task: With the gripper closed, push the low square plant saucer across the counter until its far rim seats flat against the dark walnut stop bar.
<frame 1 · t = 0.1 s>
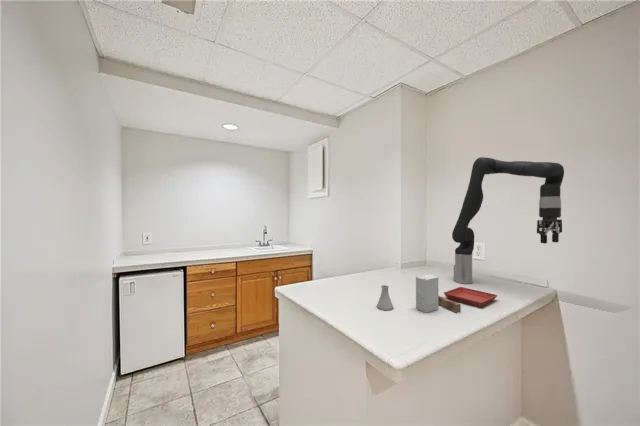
hand: (549, 242, 122), 29 cm above the countertop, fingers open, 8 cm apart
flask: (385, 308, 122), on the countertop
skincare box: (427, 310, 120), on the countertop
stop bar: (440, 304, 125), on the countertop
plant saucer: (470, 300, 133), on the countertop
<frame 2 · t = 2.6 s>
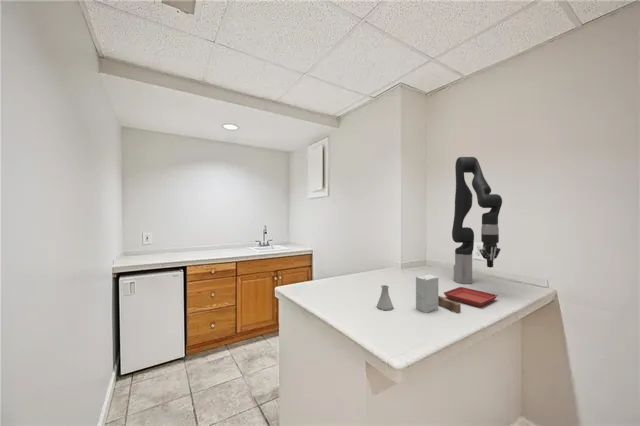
hand: (490, 267, 137), 15 cm above the countertop, fingers closed
nothing on the countertop moved.
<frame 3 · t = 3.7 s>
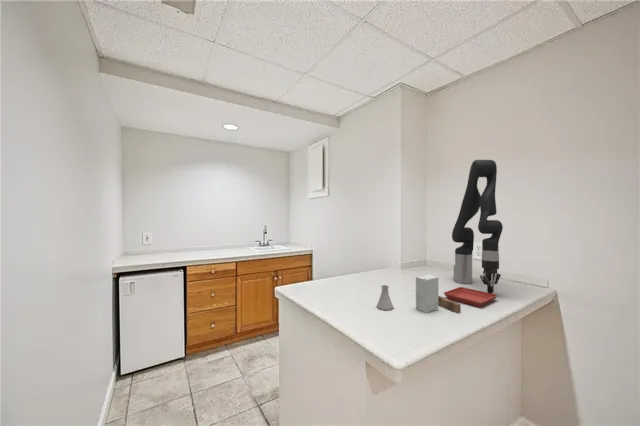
hand: (490, 293, 137), 2 cm above the countertop, fingers closed
nothing on the countertop moved.
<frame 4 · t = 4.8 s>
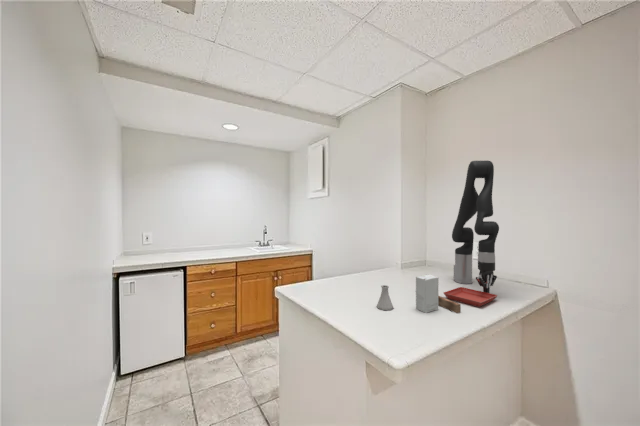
hand: (486, 294, 137), 1 cm above the countertop, fingers closed
plant saucer: (469, 300, 133), on the countertop, touching gripper
everything else where it was.
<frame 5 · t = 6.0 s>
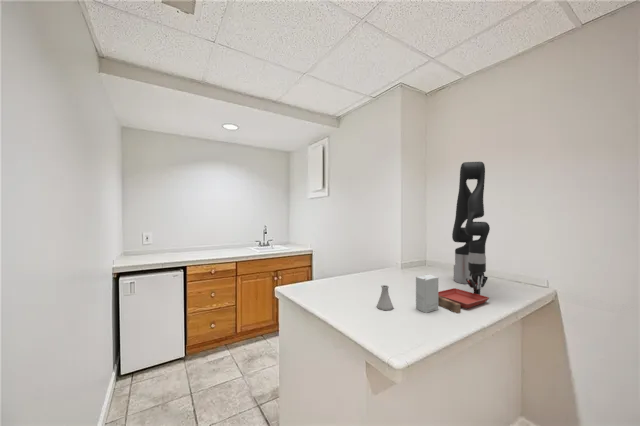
hand: (476, 296, 134), 1 cm above the countertop, fingers closed
plant saucer: (460, 302, 130), on the countertop
everything else where it was.
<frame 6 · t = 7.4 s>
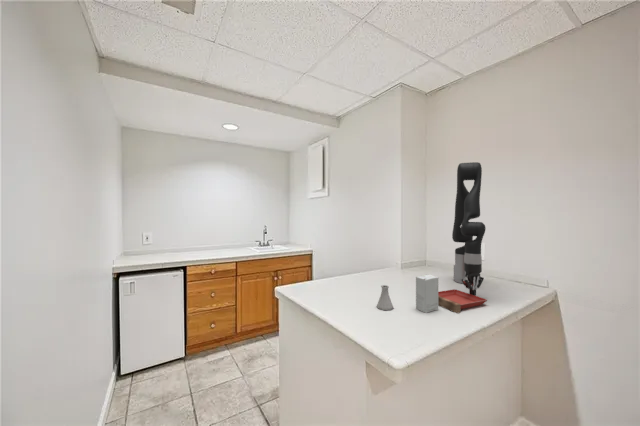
hand: (472, 296, 133), 1 cm above the countertop, fingers closed
plant saucer: (457, 303, 129), on the countertop
everything else where it was.
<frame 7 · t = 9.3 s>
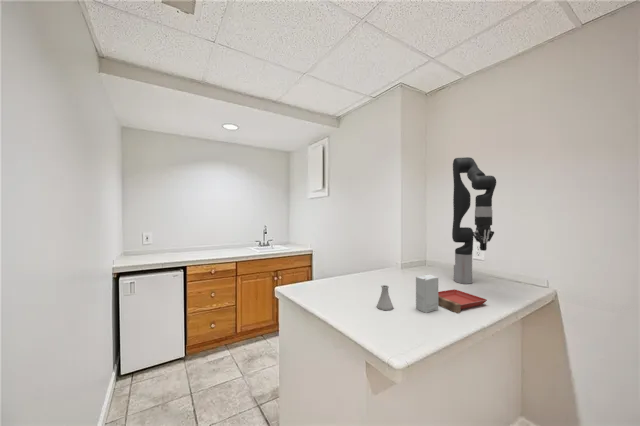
hand: (483, 250, 135), 24 cm above the countertop, fingers closed
nothing on the countertop moved.
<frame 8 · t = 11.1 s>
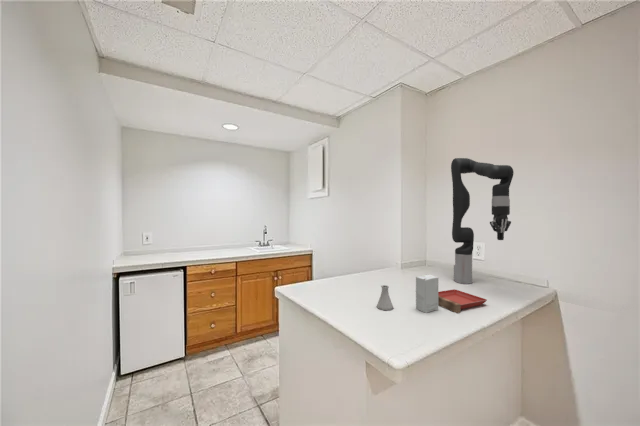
hand: (500, 240, 134), 29 cm above the countertop, fingers closed
nothing on the countertop moved.
at the end: plant saucer inside the target area (0.9 cm from its centre), on the countertop; plant saucer moved 8.9 cm from its start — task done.
